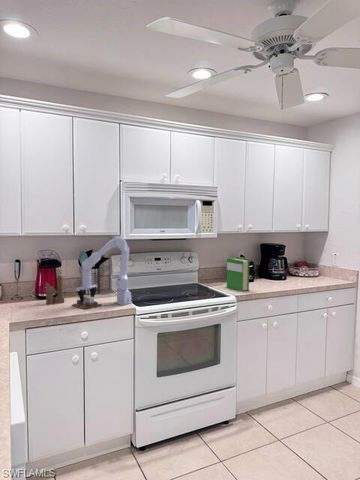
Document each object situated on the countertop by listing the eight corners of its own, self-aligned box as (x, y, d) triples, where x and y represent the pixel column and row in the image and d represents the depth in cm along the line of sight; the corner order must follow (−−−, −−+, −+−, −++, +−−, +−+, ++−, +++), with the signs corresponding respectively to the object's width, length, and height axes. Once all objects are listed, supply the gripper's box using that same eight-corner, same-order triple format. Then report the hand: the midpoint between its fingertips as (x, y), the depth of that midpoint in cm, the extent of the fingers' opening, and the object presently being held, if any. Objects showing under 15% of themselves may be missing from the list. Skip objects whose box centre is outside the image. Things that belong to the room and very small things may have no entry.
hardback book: (248, 290, 271) (249, 260, 270) (241, 291, 267) (242, 260, 266) (233, 286, 286) (233, 257, 284) (226, 287, 282) (227, 258, 280)
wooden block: (46, 303, 227) (45, 276, 226) (62, 301, 233) (62, 275, 232) (47, 305, 224) (47, 277, 223) (64, 302, 230) (64, 275, 229)
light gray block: (93, 305, 221) (93, 297, 220) (89, 306, 218) (89, 298, 218) (84, 302, 227) (84, 295, 227) (80, 303, 225) (80, 295, 224)
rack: (101, 305, 223) (101, 301, 223) (85, 309, 214) (85, 304, 213) (88, 302, 232) (88, 297, 232) (72, 305, 223) (72, 301, 223)
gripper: (92, 277, 230) (92, 297, 231) (73, 280, 219) (73, 301, 220) (99, 278, 225) (99, 299, 226) (79, 281, 214) (80, 303, 215)
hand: (87, 300), depth 223 cm, fingers open, 7 cm apart
